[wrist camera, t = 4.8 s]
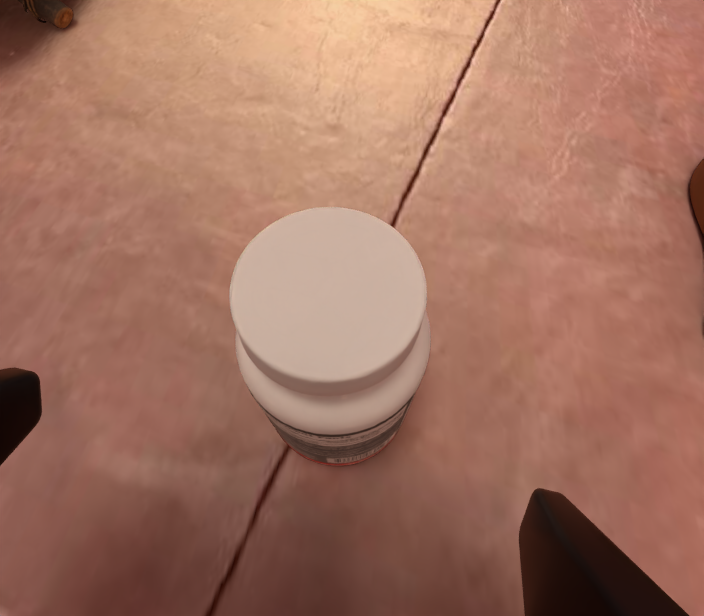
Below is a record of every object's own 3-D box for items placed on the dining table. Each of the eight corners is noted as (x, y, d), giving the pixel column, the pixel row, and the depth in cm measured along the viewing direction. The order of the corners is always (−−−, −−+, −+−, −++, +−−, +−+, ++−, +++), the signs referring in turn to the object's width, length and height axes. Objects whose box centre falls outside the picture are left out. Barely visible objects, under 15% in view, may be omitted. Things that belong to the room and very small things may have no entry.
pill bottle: (306, 317, 22) (278, 160, 13) (424, 363, 21) (482, 229, 12) (245, 434, 19) (157, 342, 10) (375, 493, 18) (401, 447, 9)
